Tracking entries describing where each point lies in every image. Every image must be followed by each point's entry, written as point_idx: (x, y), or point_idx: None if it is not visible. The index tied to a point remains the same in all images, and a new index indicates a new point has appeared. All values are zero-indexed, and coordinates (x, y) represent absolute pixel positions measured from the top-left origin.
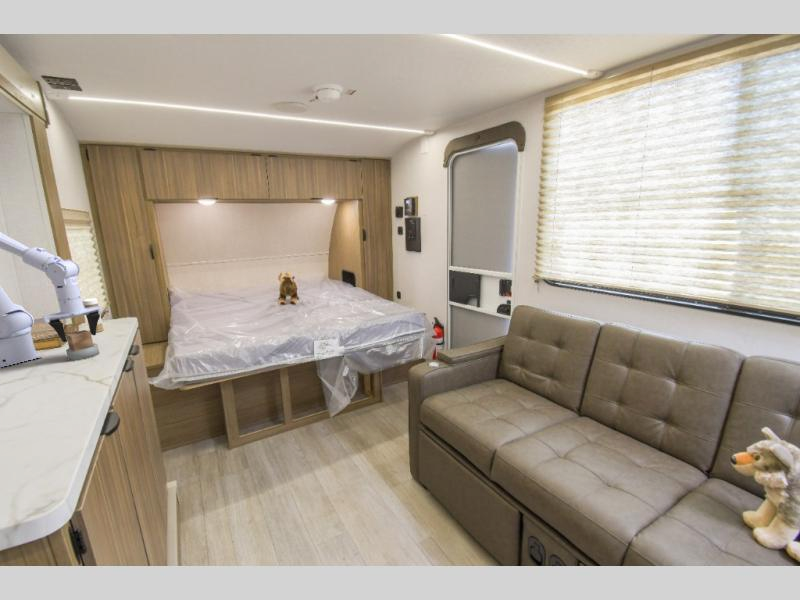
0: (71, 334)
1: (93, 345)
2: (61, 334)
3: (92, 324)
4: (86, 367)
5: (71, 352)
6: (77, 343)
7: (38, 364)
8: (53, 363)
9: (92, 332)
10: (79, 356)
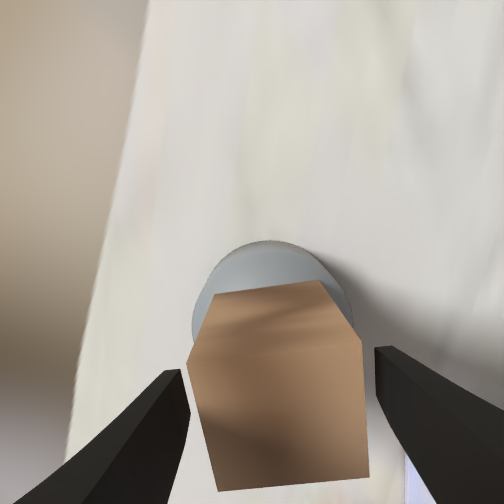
0: (337, 430)
1: (214, 297)
2: (469, 395)
3: (108, 472)
4: (301, 59)
5: (336, 281)
6: (305, 304)
7: (439, 346)
8: (394, 303)
9: (173, 400)
10: (299, 251)
